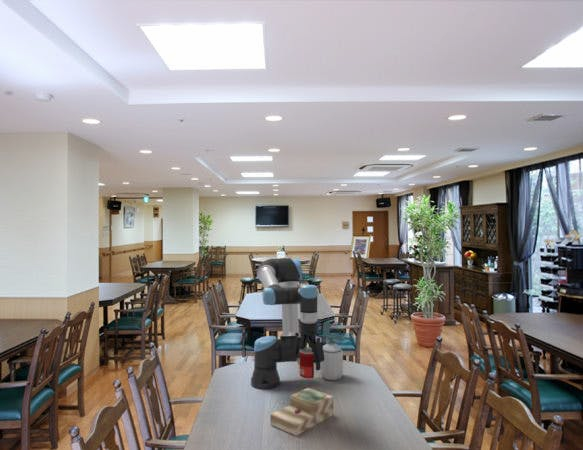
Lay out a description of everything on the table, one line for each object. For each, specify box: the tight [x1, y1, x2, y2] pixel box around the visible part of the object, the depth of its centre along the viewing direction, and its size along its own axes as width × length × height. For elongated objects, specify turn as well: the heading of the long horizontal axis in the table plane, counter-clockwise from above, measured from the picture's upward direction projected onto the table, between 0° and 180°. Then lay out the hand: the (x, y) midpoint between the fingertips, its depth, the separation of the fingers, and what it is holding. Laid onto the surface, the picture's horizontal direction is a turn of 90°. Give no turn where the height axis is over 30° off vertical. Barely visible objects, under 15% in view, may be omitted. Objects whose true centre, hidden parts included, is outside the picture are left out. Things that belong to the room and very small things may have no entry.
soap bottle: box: [319, 319, 344, 381], centre depth 217 cm, size 12×12×31 cm
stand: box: [269, 387, 334, 437], centre depth 168 cm, size 24×14×8 cm, turn 138°
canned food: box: [298, 346, 315, 379], centre depth 172 cm, size 8×8×11 cm
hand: (308, 374), depth 172 cm, fingers closed on canned food, 8 cm apart
